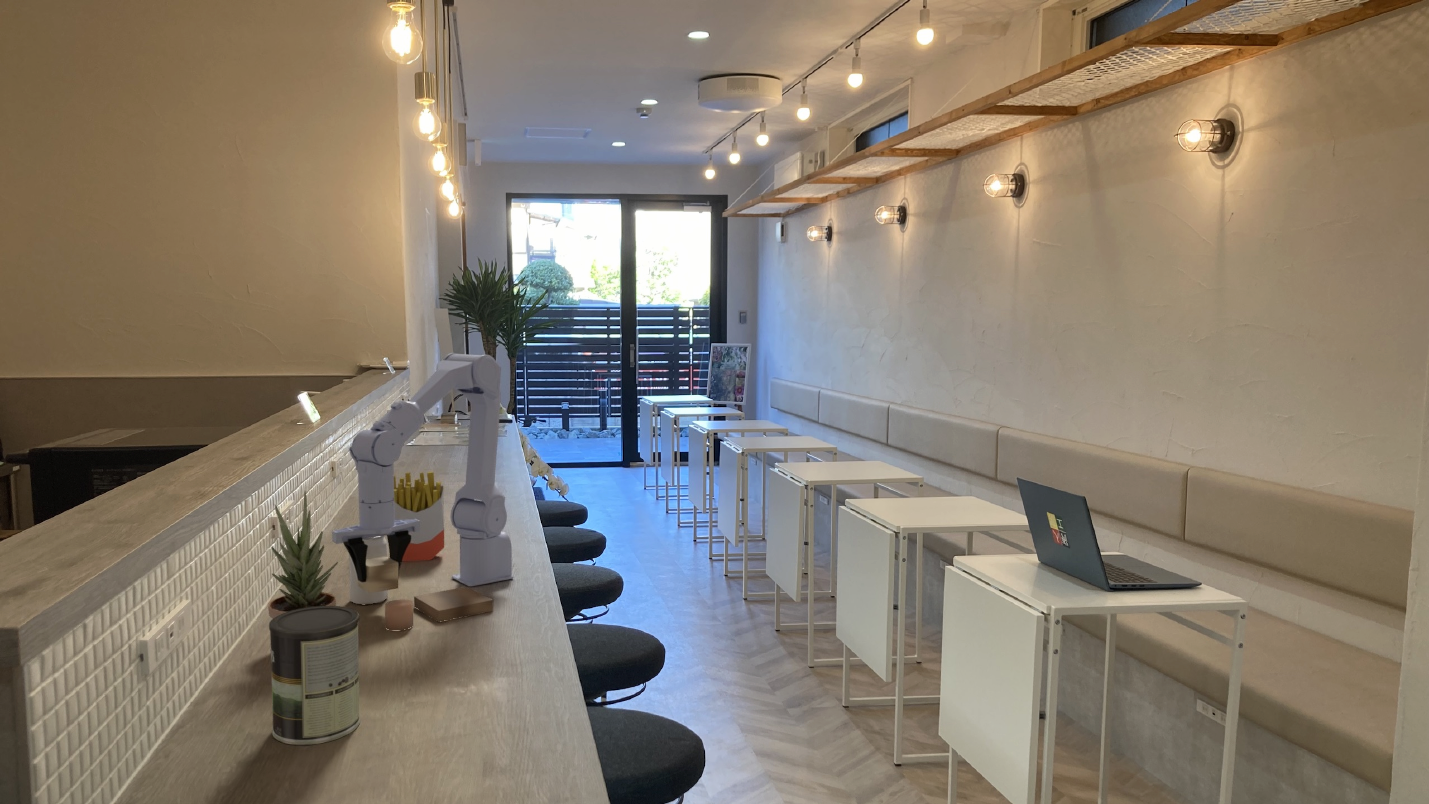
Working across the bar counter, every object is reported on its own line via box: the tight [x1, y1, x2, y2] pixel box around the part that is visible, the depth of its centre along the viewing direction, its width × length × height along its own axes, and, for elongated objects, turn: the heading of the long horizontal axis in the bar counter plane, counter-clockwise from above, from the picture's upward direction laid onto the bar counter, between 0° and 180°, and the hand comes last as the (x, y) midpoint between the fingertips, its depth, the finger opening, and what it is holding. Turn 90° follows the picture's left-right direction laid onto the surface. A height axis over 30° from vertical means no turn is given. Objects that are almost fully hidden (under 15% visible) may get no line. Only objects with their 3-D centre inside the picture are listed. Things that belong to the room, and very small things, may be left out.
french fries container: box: [394, 471, 445, 562], centre depth 198 cm, size 5×11×18 cm, turn 108°
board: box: [413, 586, 494, 623], centre depth 165 cm, size 10×10×2 cm
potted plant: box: [267, 490, 339, 620], centre depth 145 cm, size 10×10×25 cm
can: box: [348, 536, 389, 605], centre depth 169 cm, size 6×6×12 cm
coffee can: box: [268, 605, 361, 746], centre depth 118 cm, size 10×10×14 cm
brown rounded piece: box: [384, 598, 414, 631], centre depth 156 cm, size 4×4×4 cm
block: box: [358, 556, 399, 593], centre depth 162 cm, size 5×5×4 cm
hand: (378, 577), depth 162 cm, fingers closed on block, 5 cm apart
